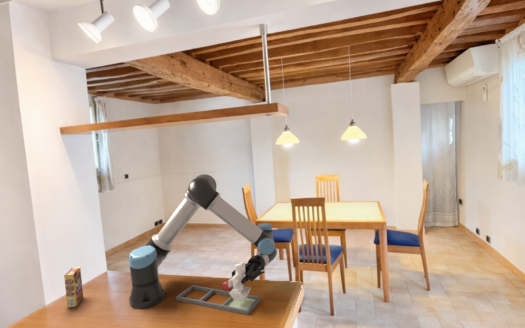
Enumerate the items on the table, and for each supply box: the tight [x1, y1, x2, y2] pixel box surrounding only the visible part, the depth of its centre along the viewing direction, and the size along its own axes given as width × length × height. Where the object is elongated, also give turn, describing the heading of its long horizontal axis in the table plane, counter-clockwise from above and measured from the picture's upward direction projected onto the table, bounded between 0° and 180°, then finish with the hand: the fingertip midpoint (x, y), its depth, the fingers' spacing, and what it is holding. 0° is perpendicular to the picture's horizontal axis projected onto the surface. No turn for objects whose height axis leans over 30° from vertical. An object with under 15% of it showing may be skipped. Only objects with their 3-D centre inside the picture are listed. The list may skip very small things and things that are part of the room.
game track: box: [175, 284, 262, 316], centre depth 138 cm, size 37×12×2 cm, turn 64°
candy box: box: [63, 266, 84, 309], centre depth 145 cm, size 9×4×15 cm, turn 12°
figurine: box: [229, 261, 252, 301], centre depth 132 cm, size 7×9×15 cm
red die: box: [221, 279, 233, 291], centre depth 146 cm, size 4×4×4 cm
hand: (232, 284), depth 127 cm, fingers closed on figurine, 3 cm apart
